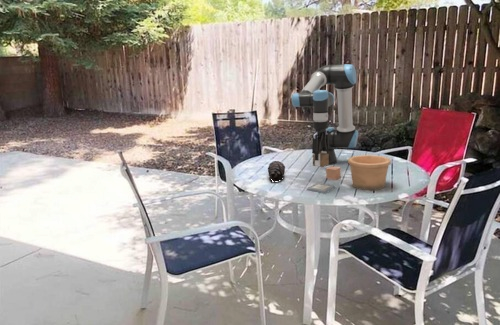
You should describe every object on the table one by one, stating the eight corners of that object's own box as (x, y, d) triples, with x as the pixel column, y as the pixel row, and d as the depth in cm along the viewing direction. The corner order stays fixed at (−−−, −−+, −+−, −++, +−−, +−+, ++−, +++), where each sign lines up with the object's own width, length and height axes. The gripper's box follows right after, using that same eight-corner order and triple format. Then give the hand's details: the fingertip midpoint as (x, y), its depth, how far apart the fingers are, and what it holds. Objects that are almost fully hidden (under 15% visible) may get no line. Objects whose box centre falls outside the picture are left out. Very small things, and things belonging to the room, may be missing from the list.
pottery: (365, 194, 206) (366, 166, 203) (339, 183, 226) (339, 158, 222) (398, 187, 214) (400, 160, 211) (371, 177, 234) (371, 153, 230)
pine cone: (269, 183, 231) (268, 166, 229) (267, 175, 249) (267, 159, 246) (287, 182, 231) (287, 165, 229) (284, 174, 249) (284, 158, 246)
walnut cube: (312, 165, 214) (312, 154, 213) (318, 163, 219) (318, 152, 217) (322, 167, 210) (323, 155, 209) (328, 164, 215) (328, 153, 213)
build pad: (306, 189, 217) (306, 187, 217) (316, 184, 225) (316, 182, 225) (325, 193, 210) (325, 191, 210) (335, 187, 218) (335, 185, 218)
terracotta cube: (326, 178, 236) (326, 168, 235) (331, 176, 241) (331, 166, 239) (335, 180, 233) (335, 169, 231) (340, 177, 237) (340, 167, 236)
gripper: (317, 123, 200) (318, 169, 205) (335, 118, 214) (335, 161, 219) (304, 123, 204) (305, 167, 210) (323, 118, 218) (323, 160, 224)
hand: (320, 164), depth 214 cm, fingers closed on walnut cube, 6 cm apart
